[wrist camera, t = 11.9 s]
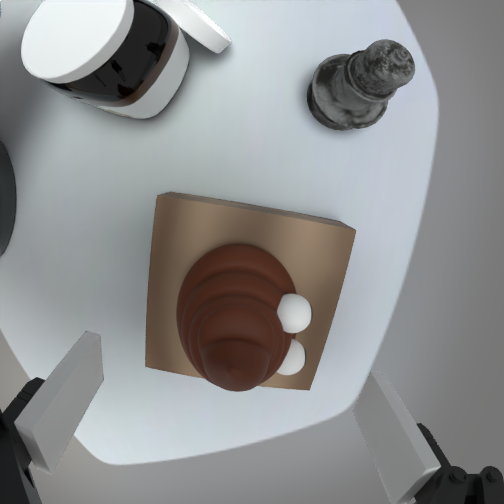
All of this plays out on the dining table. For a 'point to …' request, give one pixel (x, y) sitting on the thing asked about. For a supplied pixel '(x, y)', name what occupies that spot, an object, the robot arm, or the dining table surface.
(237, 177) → the dining table surface
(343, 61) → the salt shaker
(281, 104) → the dining table surface
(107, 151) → the dining table surface
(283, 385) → the walnut base
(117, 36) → the spread jar
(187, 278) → the poop emoji
